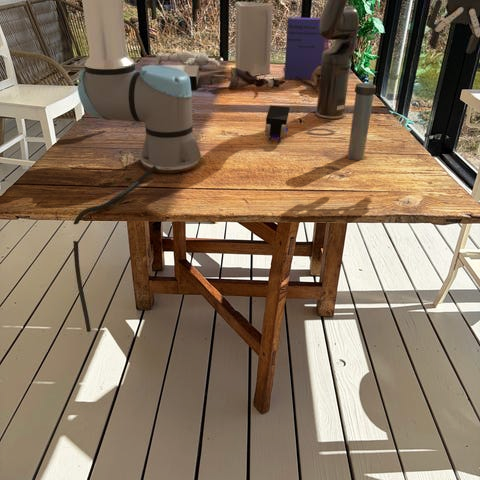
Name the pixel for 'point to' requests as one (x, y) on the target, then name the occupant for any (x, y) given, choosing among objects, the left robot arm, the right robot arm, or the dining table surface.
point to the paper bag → (253, 37)
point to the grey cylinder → (359, 126)
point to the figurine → (246, 79)
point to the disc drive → (189, 73)
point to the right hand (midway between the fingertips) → (450, 50)
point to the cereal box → (303, 47)
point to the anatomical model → (316, 78)
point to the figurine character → (276, 122)
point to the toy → (185, 58)
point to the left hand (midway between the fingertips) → (174, 20)
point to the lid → (365, 88)
